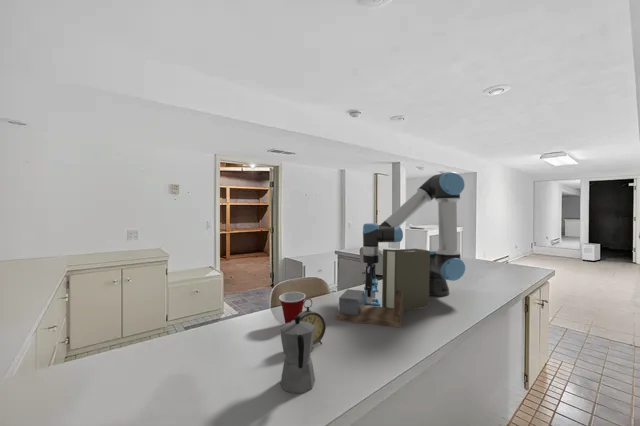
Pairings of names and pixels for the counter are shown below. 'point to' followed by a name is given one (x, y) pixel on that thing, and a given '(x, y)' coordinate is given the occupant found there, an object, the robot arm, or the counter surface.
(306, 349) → the coffeepot
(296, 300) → the plastic cup
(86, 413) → the counter surface
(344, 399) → the counter surface
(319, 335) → the alarm clock
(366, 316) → the wooden l-shaped stand
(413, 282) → the book
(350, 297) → the gray block
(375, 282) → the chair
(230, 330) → the counter surface
